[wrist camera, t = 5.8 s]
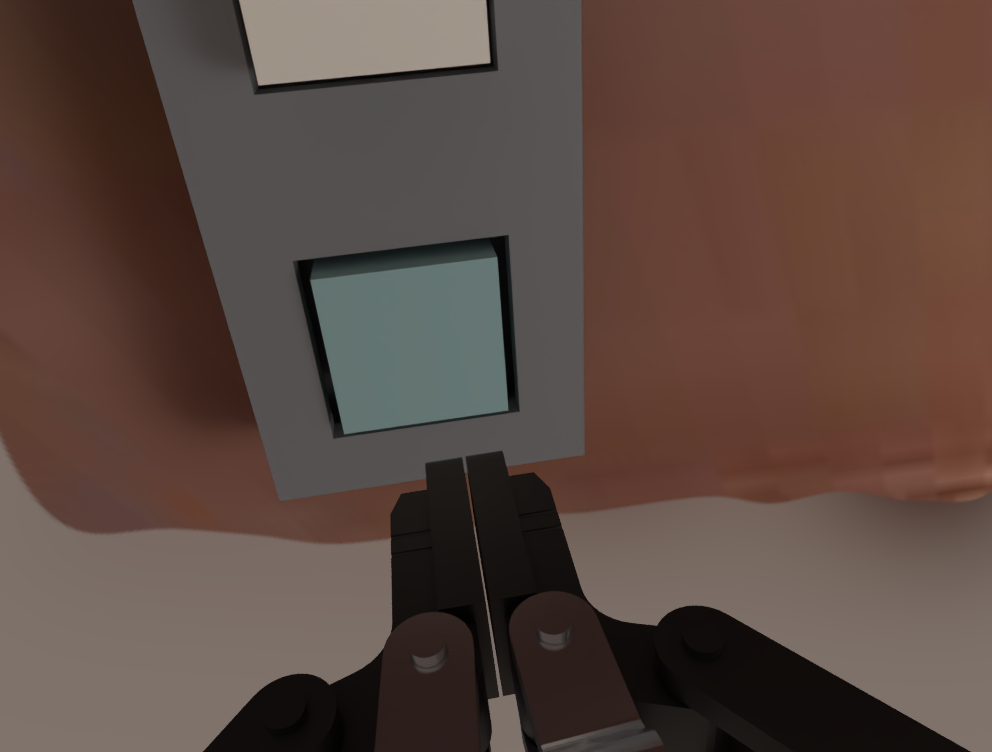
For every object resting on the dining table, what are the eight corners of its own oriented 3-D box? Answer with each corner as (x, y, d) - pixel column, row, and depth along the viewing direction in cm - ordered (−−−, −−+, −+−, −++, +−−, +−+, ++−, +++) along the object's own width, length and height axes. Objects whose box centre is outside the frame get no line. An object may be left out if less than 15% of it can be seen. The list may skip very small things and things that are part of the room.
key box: (534, -319, 20) (579, -391, 16) (556, 389, 33) (584, 454, 29) (99, -299, 19) (22, -372, 15) (291, 427, 32) (279, 500, 27)
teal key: (484, 226, 26) (497, 256, 23) (495, 370, 29) (508, 410, 26) (316, 246, 25) (310, 280, 23) (346, 390, 28) (344, 434, 26)
